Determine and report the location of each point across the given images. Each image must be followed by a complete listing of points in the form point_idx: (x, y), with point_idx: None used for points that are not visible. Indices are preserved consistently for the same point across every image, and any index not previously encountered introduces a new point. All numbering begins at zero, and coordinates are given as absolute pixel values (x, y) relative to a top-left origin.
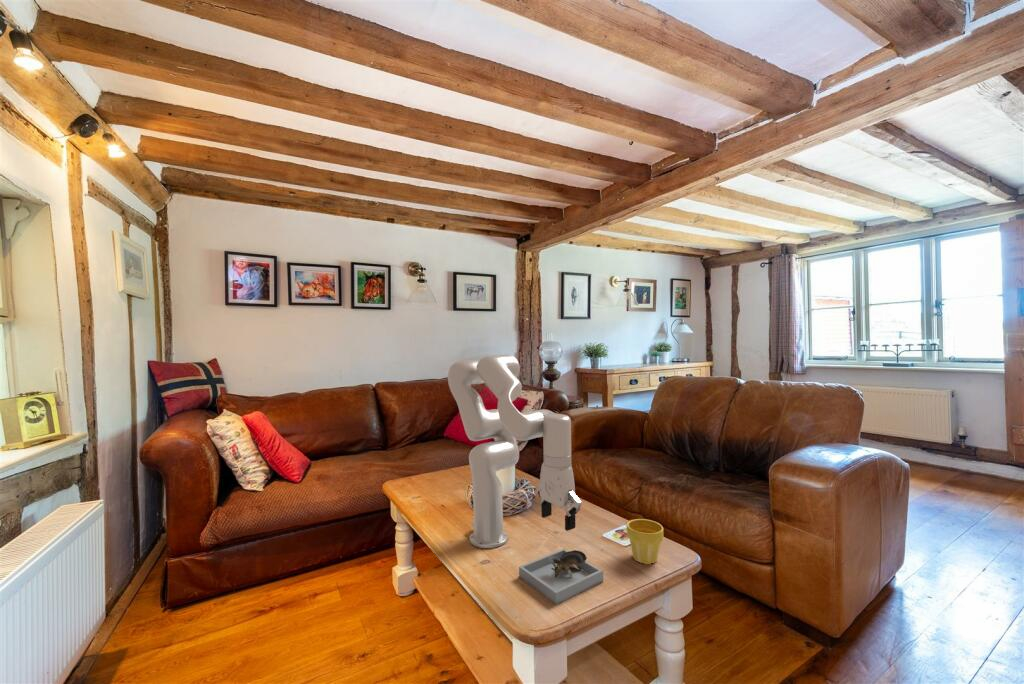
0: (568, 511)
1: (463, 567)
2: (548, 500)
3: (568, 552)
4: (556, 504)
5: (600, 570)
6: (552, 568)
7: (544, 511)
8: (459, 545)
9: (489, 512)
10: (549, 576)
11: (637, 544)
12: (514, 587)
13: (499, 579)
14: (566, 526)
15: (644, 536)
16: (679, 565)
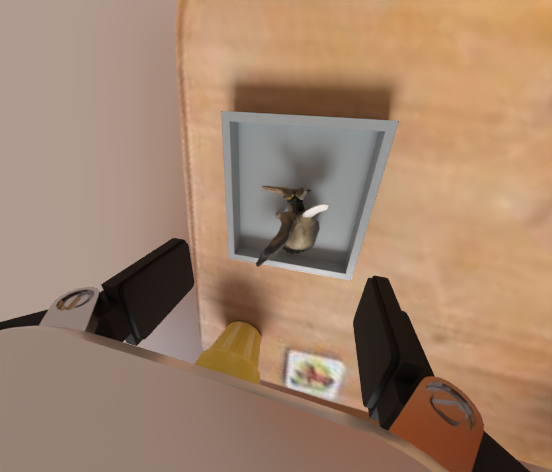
0: (46, 316)
1: None
2: (204, 405)
3: (282, 244)
4: (53, 350)
5: (232, 255)
6: (307, 191)
7: (374, 311)
8: None
9: None
10: (316, 181)
11: (225, 346)
12: (365, 72)
13: (441, 57)
14: (159, 247)
15: (200, 363)
16: (205, 338)
